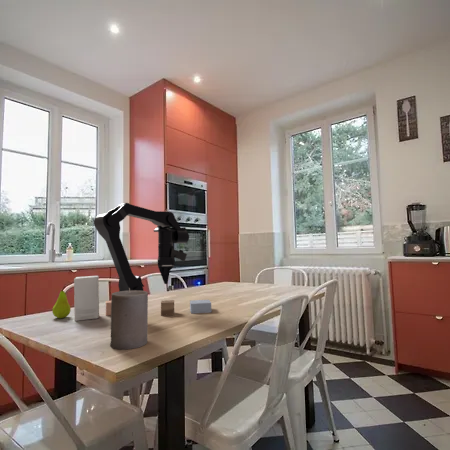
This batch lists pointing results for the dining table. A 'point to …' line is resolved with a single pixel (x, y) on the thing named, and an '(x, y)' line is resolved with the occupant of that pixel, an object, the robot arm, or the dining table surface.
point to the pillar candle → (129, 319)
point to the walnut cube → (167, 307)
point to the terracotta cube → (108, 308)
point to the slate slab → (200, 306)
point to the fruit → (61, 306)
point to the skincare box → (86, 297)
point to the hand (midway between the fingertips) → (165, 282)
